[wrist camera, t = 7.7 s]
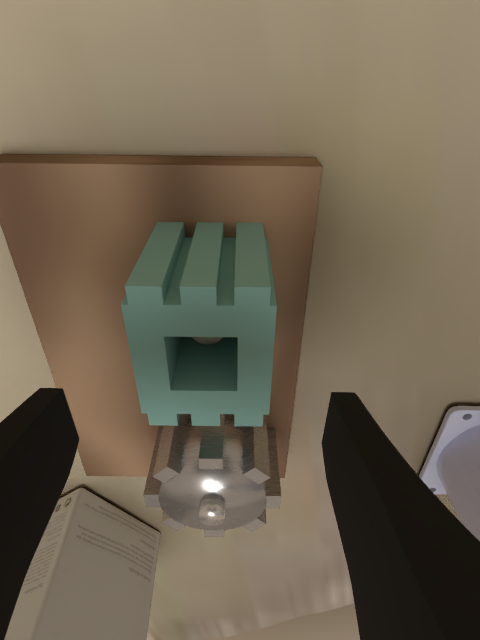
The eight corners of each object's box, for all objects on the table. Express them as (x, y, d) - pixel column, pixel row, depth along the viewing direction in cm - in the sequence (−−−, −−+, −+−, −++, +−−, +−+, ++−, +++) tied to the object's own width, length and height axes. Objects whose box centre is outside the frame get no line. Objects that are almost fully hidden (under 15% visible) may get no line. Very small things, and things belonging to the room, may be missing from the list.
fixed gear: (278, 391, 20) (287, 476, 16) (271, 468, 23) (277, 554, 19) (153, 390, 20) (131, 474, 16) (165, 467, 23) (149, 552, 19)
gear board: (315, 157, 15) (340, 191, 11) (282, 456, 25) (289, 527, 21) (1, 153, 15) (-79, 186, 11) (94, 454, 25) (68, 524, 21)
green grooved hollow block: (268, 223, 15) (278, 287, 11) (262, 340, 18) (268, 426, 14) (152, 221, 15) (117, 285, 11) (166, 340, 18) (143, 425, 14)
